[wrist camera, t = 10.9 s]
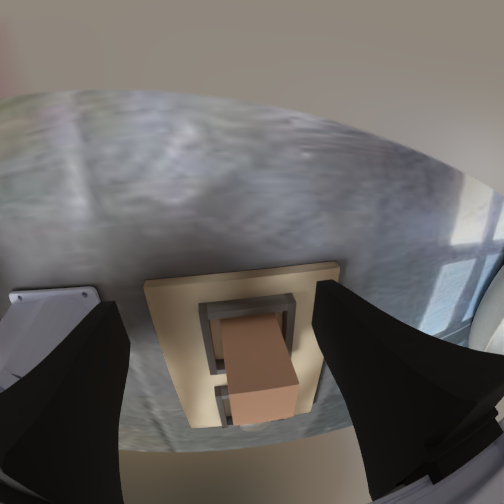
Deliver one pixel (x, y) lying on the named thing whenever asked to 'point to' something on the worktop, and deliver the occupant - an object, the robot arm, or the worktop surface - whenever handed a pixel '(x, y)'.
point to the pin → (255, 426)
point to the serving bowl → (490, 319)
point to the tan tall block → (258, 369)
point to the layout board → (209, 331)
